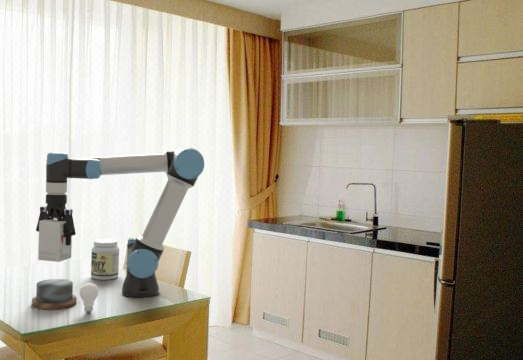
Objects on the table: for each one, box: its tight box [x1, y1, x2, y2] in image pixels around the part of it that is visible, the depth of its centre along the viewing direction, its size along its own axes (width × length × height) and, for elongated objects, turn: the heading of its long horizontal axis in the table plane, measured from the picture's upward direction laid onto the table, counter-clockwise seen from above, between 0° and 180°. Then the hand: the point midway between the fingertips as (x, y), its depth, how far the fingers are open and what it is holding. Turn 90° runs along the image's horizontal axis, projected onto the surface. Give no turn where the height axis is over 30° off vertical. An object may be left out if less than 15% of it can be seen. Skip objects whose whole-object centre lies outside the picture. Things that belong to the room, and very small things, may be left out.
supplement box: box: [37, 218, 73, 263], centre depth 217 cm, size 9×9×15 cm
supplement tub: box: [90, 238, 120, 281], centre depth 262 cm, size 12×12×17 cm
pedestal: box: [31, 278, 78, 311], centre depth 218 cm, size 16×16×8 cm
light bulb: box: [79, 282, 99, 314], centre depth 209 cm, size 7×7×11 cm
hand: (55, 252), depth 217 cm, fingers closed on supplement box, 10 cm apart
